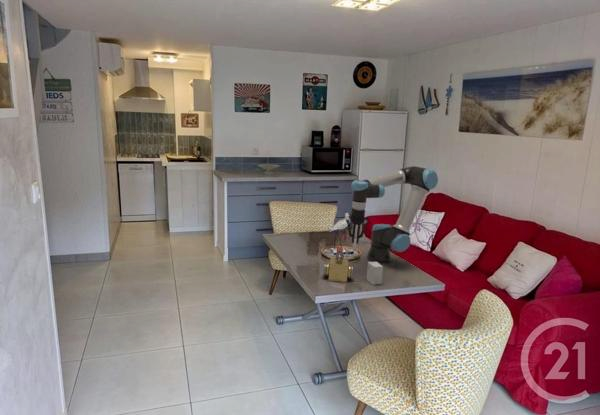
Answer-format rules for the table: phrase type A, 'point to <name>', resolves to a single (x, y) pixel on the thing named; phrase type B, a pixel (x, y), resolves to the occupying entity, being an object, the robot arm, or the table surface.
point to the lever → (339, 253)
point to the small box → (374, 273)
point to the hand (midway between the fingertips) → (354, 248)
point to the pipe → (351, 270)
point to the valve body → (338, 270)
